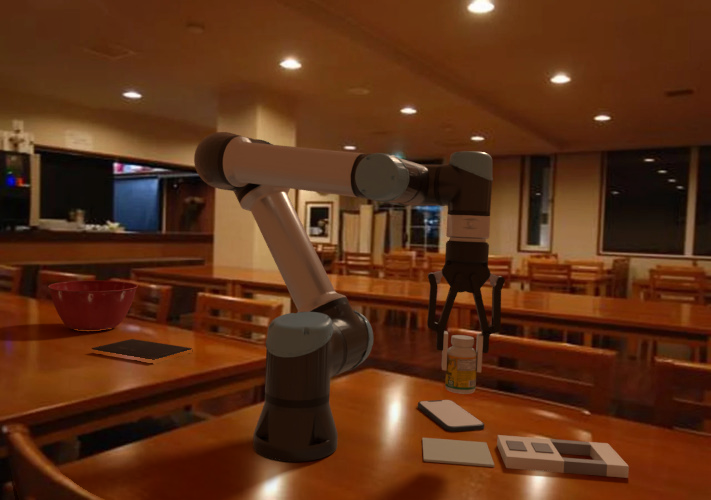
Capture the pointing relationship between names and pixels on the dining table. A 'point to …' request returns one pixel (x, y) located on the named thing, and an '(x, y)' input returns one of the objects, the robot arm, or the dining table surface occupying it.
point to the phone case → (450, 415)
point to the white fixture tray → (547, 456)
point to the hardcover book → (142, 349)
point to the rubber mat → (456, 452)
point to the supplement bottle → (461, 365)
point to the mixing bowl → (92, 303)
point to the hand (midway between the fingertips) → (461, 369)
